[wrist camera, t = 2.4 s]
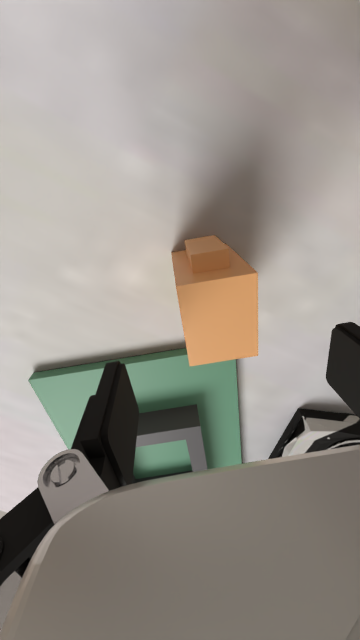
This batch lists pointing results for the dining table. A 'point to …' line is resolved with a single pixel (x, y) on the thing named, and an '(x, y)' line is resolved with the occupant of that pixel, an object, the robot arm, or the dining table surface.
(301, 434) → the graphics card
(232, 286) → the keyed plug
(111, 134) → the dining table surface
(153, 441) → the socket board
